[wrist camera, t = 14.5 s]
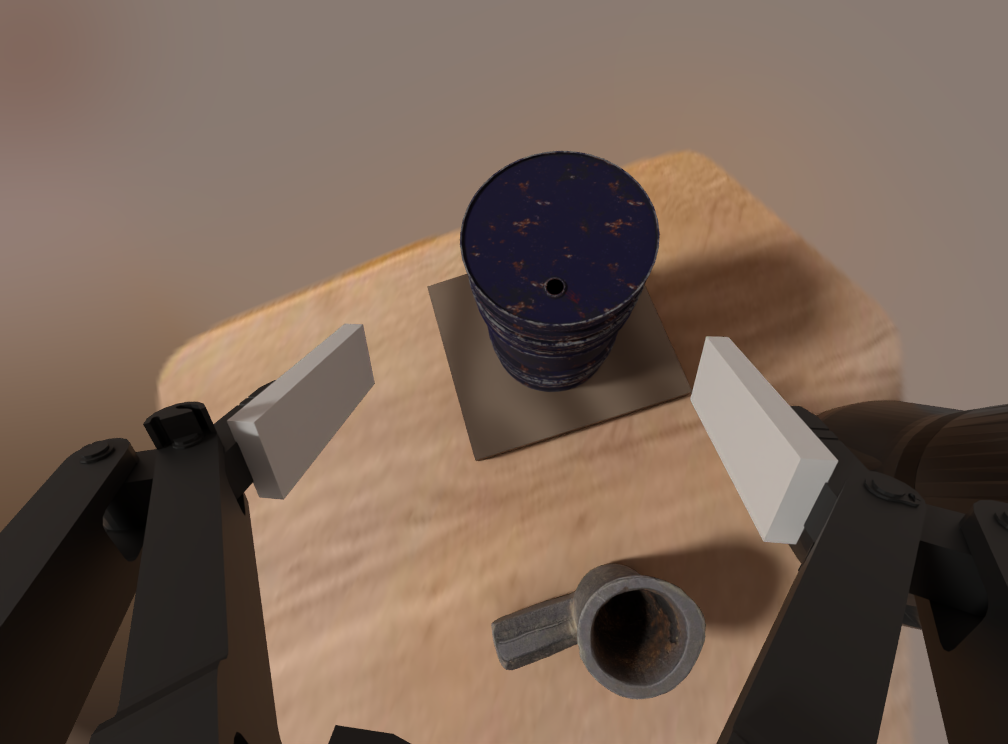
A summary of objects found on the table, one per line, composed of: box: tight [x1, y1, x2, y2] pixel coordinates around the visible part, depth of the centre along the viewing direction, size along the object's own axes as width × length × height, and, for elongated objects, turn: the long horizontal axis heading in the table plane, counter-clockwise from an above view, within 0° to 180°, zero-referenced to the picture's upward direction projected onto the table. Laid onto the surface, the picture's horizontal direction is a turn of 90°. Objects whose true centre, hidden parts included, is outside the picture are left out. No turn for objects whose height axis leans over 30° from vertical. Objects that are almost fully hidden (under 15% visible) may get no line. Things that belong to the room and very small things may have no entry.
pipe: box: [491, 564, 706, 699], centre depth 26 cm, size 6×13×8 cm, turn 109°
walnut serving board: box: [428, 274, 692, 461], centre depth 35 cm, size 18×16×2 cm
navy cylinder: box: [460, 151, 660, 392], centre depth 27 cm, size 10×10×15 cm
